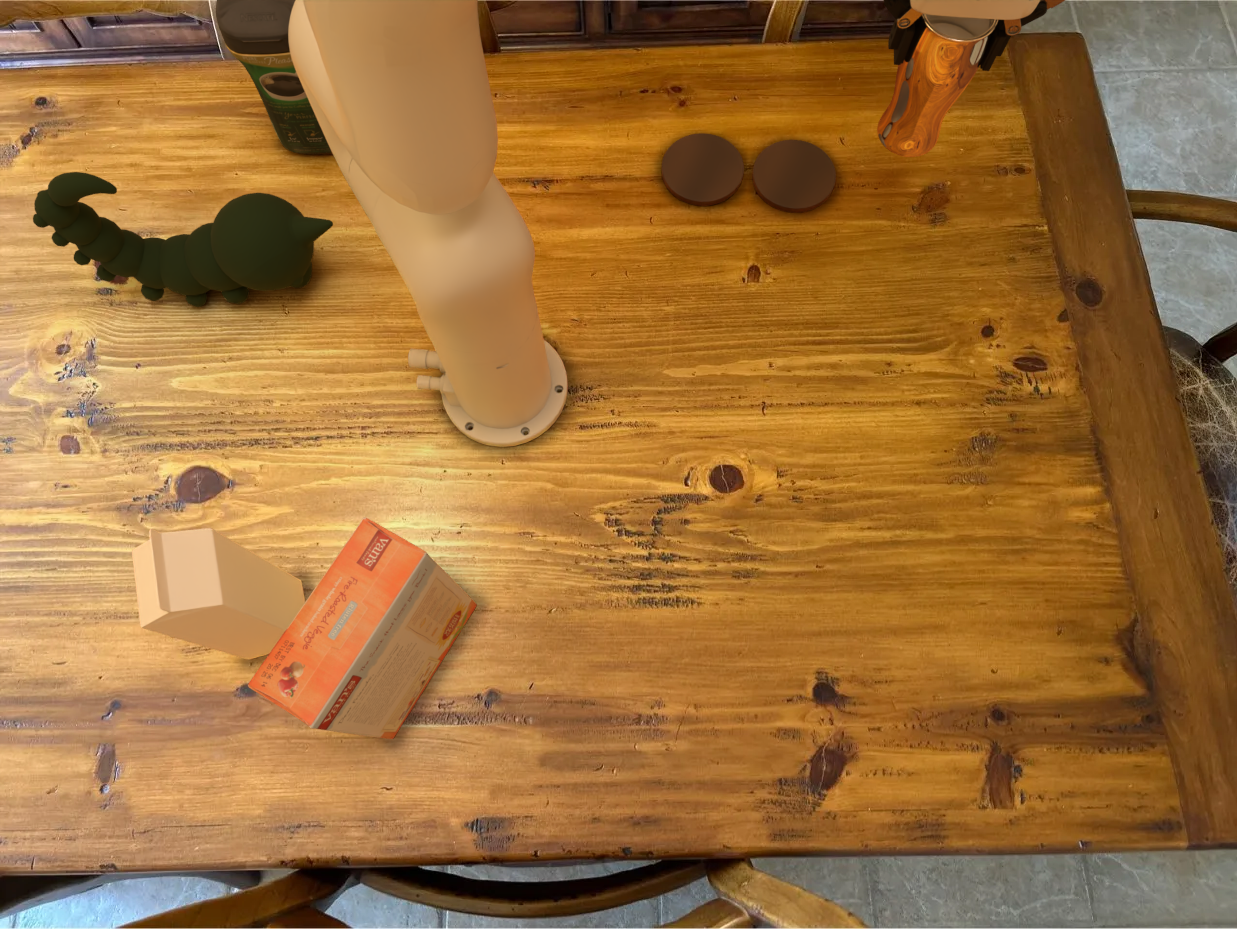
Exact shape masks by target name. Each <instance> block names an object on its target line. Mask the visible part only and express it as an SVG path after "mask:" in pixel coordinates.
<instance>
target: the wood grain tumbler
mask: <svg viewBox="0 0 1237 929" xmlns="http://www.w3.org/2000/svg"><path fill="white" fill-rule="evenodd" d="M998 20H999V19H982V18H966V17H951V16H937V15H928V14H922V15H921V16H920V17H919V18H918V19H917V20H916V21H915V33H914V36H913V38H912V41H911V44H910V46H909V49H908V51H907V54H906V56H905V59H904V62H903V64H900V65H897V69H896V75H895V82H894V90H893V95H892V98H891V100H890V102H889V105H888V106H887V107H886V109H885V110H884V111H883V113H882V114H881V116H880V118H879V120H878V123H877V126H876V127H877V128H876V132H877V138H878V140H879V142H880V143H881V145H882V146H883V147H884V148H885V149H887V151H890V153H893V154H895V155H897V156H900V157H904V158H915V157H921V156H923V155H925V154H928V153H929V152H930V151H932V150H933V148H934V147H935V146H936V145H937V144H938V143H937V142H938V140H939V137H940V134H941V129H942V125H943V121H944V119H945V116H946V115H947V113H948V112H949V110H950V109H951V108H952V106H953V105H954V104H955V103H956V102H957V100H958V99H959V98H960V96H961V95H962V94H963V92H964V91H965V90H966V88H967V87H968V85H969V84H970V83H971V82H972V79H973V78H974V77H975V75H976V73H977V72H978V69H979V68H980V64H981V62H982V60H983V58H984V55H985V53H986V51H987V48H988V46H989V43H990V41H991V38H992V35H993V32H994V30H995V28H996V26H997V24H998Z"/></svg>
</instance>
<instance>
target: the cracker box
mask: <svg viewBox="0 0 1237 929" xmlns="http://www.w3.org/2000/svg"><path fill="white" fill-rule="evenodd" d="M477 606H478V604H477V603H476V602H475V600H474V599H473V598H471V596H470V595H468V593H467V592H466V591H465V590H464V589H463V588H462V587H461V586H460V585H459V584H458V583H457V582H456V581H455V580H454V579H453V578H452V577H451V576H450V575H449V574H448V573H447V572H446V571H445V570H444V569H443V568H442V567H441V565H439V563H437V561H436V560H434V559H433V558H432V557H431V555H430V554H429V553H427V551H426V550H424V549H422V548H420V547H419V546H417V545H415V544H413V543H412V542H411V541H408V540H407V539H406V538H405V539H404V538H403V537H401V536H400V535H398V534H396V533H394V532H393V531H391V530H389V529H388V528H386V527H385V526H382V525H381V524H379V523H378V522H375V521H373V520H371V518H368V517H366V516H363V518H362V519H361V520H360V522H359V523H358V525H357V526H356V528H355V529H354V530H353V532H352V533H351V535H350V536H349V537H348V538H347V541H346V542H345V543H344V545H343V547H342V548H341V550H340V551H339V553H338V554H337V555H336V557H334V560H333V561H332V563H331V564H330V566H329V567H328V569H327V570H326V572H324V575H323V576H322V577H321V578H320V580H319V582H318V583H317V585H316V586H315V587H314V588H313V590H312V592H311V593H310V595H309V596H308V598H307V599H306V600H305V603H304V605H303V606H302V608H301V609H300V611H299V612H298V614H297V615H296V617H295V618H294V620H293V621H292V622H291V624H290V625H289V627H288V628H287V629H286V631H285V632H284V633H283V635H282V636H281V638H280V639H279V640H278V642H277V643H276V645H275V646H274V648H273V649H272V650H271V652H270V653H269V654H267V655H266V657H265V659H264V660H263V662H262V663H261V665H260V666H259V668H257V671H255V673H254V675H253V677H252V678H251V679H250V680H249V682H248V684H247V687H248V688H249V689H251V691H254V692H255V693H257V694H258V695H260V696H261V697H264V698H265V699H267V701H270V703H273V704H274V705H276V706H277V707H279V708H280V709H282V710H284V711H285V712H287V713H288V714H290V715H292V716H293V717H295V718H297V719H298V720H299V721H301V722H303V723H304V725H305V724H306V725H307V726H308V727H309V728H310V729H313V730H314V729H315V730H322V731H328V732H334V733H341V734H348V735H354V736H355V735H356V736H361V737H362V736H363V737H370V738H371V737H372V738H378V739H379V738H380V739H387V740H393V739H394V738H395V737H396V735H397V734H398V732H399V731H400V729H401V727H402V726H403V724H404V722H405V721H406V719H407V718H408V717H409V715H410V713H411V712H412V710H413V708H414V707H415V705H416V704H417V702H418V700H419V699H420V698H421V696H422V694H423V693H424V691H425V689H426V687H427V686H428V684H429V682H430V681H431V680H432V678H433V676H434V675H435V673H436V671H437V670H438V669H439V667H440V665H441V663H442V662H443V660H444V659H445V657H446V656H447V654H448V653H449V651H450V649H451V648H452V646H453V645H454V643H455V641H456V639H457V638H458V636H459V635H460V633H461V632H462V630H463V629H464V627H465V626H466V624H467V622H468V620H469V619H470V617H471V615H472V614H473V613H474V611H475V609H476V607H477Z"/></svg>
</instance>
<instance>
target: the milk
mask: <svg viewBox="0 0 1237 929" xmlns="http://www.w3.org/2000/svg"><path fill="white" fill-rule="evenodd" d="M148 536H149V539H147V540H146V541H144V542H142V543H140V544H139V545H137V546H136V547H135V548H134V547H133V549H132V550H131V557H132V567H133V575H134V584H135V591H136V592H135V594H136V601H137V609H138V610H137V611H138V620H139V627H140V628H141V629H143V630H146V631H150V632H153V633H157V634H161V635H164V636H167V637H169V638H172V639H173V638H174V639H177V640H181V641H184V642H187V643H191V644H194V645H198V646H201V647H204V648H206V649H207V648H208V649H210V650H214V651H216V652H217V651H218V652H221V653H224V654H227V655H231V656H234V657H238V658H241V659H244V660H247V661H249V660H253V659H257V658H260V657H263V656H268V655H269V653H270V652H271V650H272V649H273V648H274V646H275V645H276V643H277V642H278V640H279V639H280V638H281V636H282V635H283V633H284V632H285V631H286V629H287V628H288V627H289V625H290V624H291V622H292V621H293V620H294V618H295V617H296V615H297V614H298V612H299V611H300V609H301V608H302V606H303V605H304V603H305V602H306V598H305V592H304V588H303V582H302V580H301V579H300V578H298V577H296V576H295V575H292V574H291V573H289V572H287V571H286V570H284V569H283V568H281V567H279V566H277V565H276V564H274V563H272V562H271V561H269V560H267V559H265V558H263V557H262V556H261V555H258V554H257V553H255V552H253V551H252V550H250V549H248V548H246V547H245V546H243V545H241V543H240V544H239V543H238V542H236V541H235V540H232V539H231V538H229V536H228V537H227V535H224V534H222V533H221V532H220V531H217V530H216V529H214V528H213V527H205V528H195V529H185V530H176V531H165V532H161V531H158V530H156V529H154V528H149V531H148Z"/></svg>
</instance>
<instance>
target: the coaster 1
mask: <svg viewBox="0 0 1237 929" xmlns="http://www.w3.org/2000/svg"><path fill="white" fill-rule="evenodd" d="M744 173H745V165H744V160H743V157H742V154H741V152H740V151H739V150H738V149H737V148H736V146H735V145H733V143H732V142H730V141H729V140H727V139H726V138H724V137H721V136H719V135H716V134H711V133H702V132H701V133H692V134H688V135H685V136H683V137H680V138H679V139H677V140H675V141H674V142H673V143H672V144H670V146H669V147H668V148H667V149H666V151H665V153H664V155H663V158H662V161H661V179H662V182H663V184H664V186H665V187H666V189H667V190H668V191H669V193H670V194H671V195H673V196H674V197H675V198H676V199H678V200H679V201H681V202H684V203H686V204H689V205H693V206H699V207H706V206H707V207H708V206H714V205H718V204H721V203H723V202H725V201H726V200H728V199H730V198H731V197H733V195H734V194H736V192H737V191H738V189H739V188H740V187H741V184H742V182H743V179H744V178H743V177H744Z"/></svg>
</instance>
